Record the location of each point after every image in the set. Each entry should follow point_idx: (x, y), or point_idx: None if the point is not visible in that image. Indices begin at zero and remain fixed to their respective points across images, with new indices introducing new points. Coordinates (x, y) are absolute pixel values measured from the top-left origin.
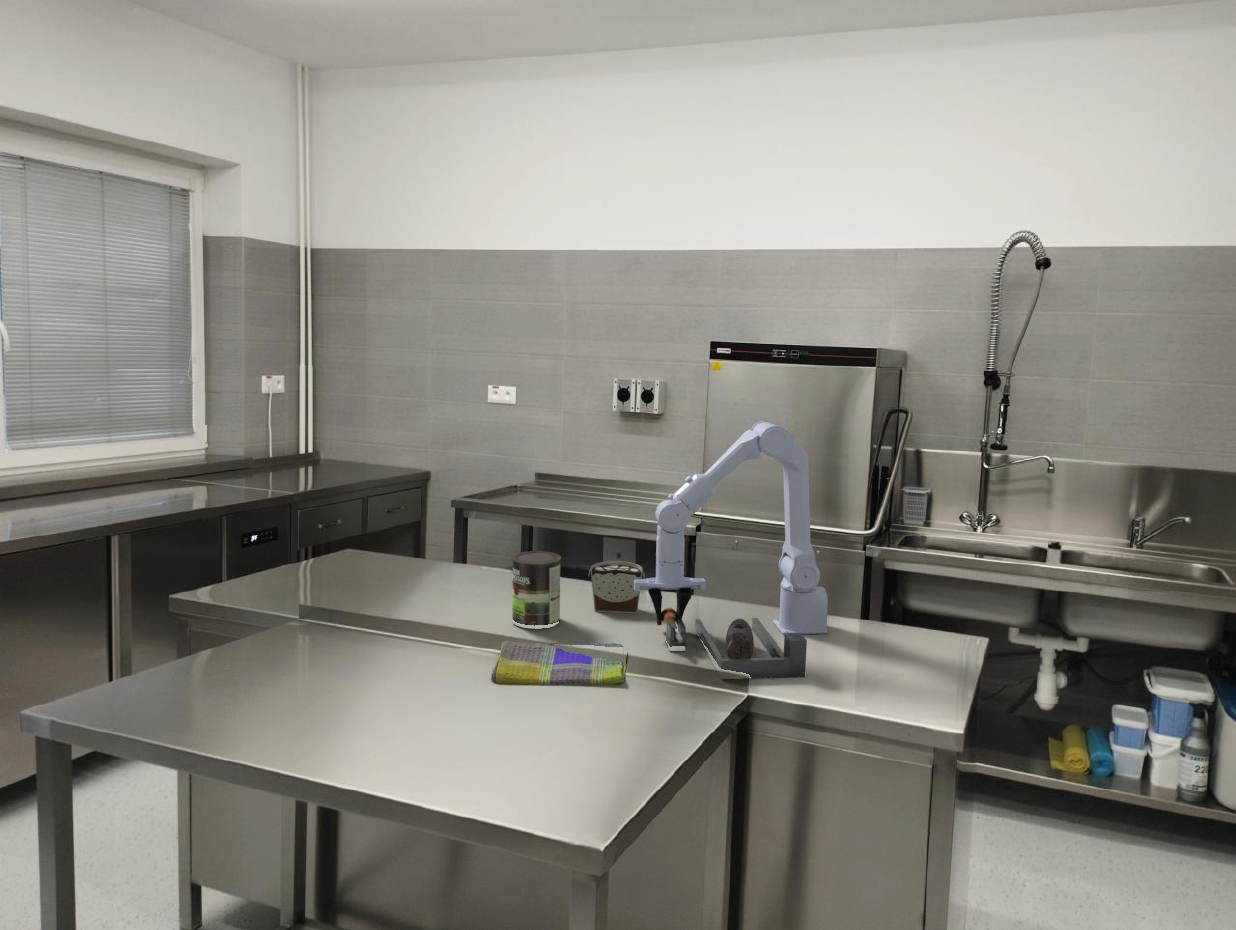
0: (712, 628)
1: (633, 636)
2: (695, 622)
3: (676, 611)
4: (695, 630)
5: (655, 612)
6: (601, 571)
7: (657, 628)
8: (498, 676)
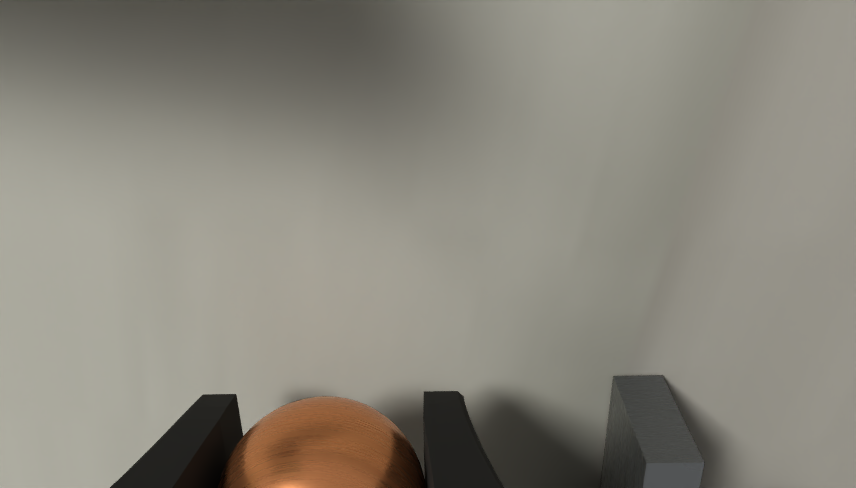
0: (820, 318)
1: (7, 471)
2: (635, 454)
3: (429, 469)
4: (613, 408)
5: (140, 459)
6: None
7: (232, 292)
8: None
